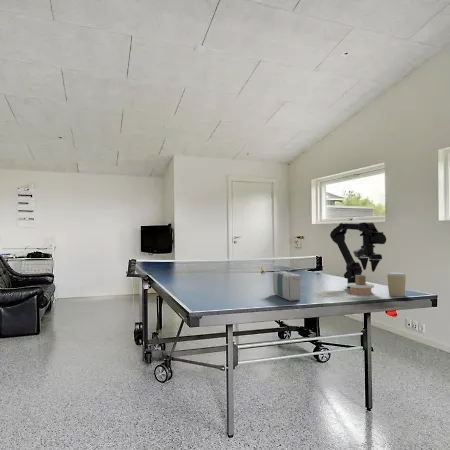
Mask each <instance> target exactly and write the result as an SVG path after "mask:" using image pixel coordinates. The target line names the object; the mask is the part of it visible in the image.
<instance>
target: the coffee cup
mask: <svg viewBox="0 0 450 450" xmlns="http://www.w3.org/2000/svg"><path fill="white" fill-rule="evenodd" d="M406 276H407V274H406V273H405V272H398V271H396V272H395V271H394V272H393V271H391V272H387V274H386V278H387V286H388V287H387V288H388V295H389V296H390V295H391V297H399V298H400V297H405V296H406V295H405V294H406V282H407V281H406V280H407V279H406V278H407V277H406Z"/></svg>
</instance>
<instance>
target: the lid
mask: <svg viewBox="0 0 450 450" xmlns="http://www.w3.org/2000/svg"><path fill="white" fill-rule="evenodd" d="M346 284H347V286H346V287H352V288H371V289H373V288H375V285H374V284H373V283H369V282H366V275H363V274H361V275H355V283H346Z"/></svg>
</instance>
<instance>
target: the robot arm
mask: <svg viewBox="0 0 450 450" xmlns="http://www.w3.org/2000/svg"><path fill="white" fill-rule="evenodd" d="M348 230H356V231H359V232H361V233H360V234H359V237H362V245H361V246H360V248H358V249H355V250H353V251H352V252H353V255H354V257H355V258H357V260H359V261H360V262H359V261H357V262H356V260H354V258H353V255H352V253H351V251H350V250H349V248H348V245H347V243H346V236H345V235H346V234H347V233H348ZM329 236H330V237H329V238H330V239H331V240H332V241H333V243H335V244H336V245H337V247H338V249H339V251H340V253H341V255H342V257H343V259H344V262H345V264H346V265H345V269H346V271H345V272H344V273H343V277H344V279H347V280H346V281H347V283H346V284H348V283H355V275H362V274H363V273H362V272H363V271H364V270H366V269H367V266H368V262H370V266H371V268H370V269H371V272H372V273H373V272H375V271H376V269H377V268H378V267H377V266H378V264H379V263H380V261H381V260H383V255H382V254H381V253H376V252H375V251H374V248H376V245H385V244H386V242H387V236H386V235H385V234H384V232H383V231H379V230H378V229H377V227H376V225H375V223H374V222H372V221H371V222H367V221H366V222H360V223H352V222H350V223H349V222H341V223H339V224H338V226H336V227H335V228H333V229H332V231H330V234H329ZM362 268H363V269H362ZM346 288H347V289H350V287H348V286H346Z"/></svg>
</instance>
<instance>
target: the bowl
mask: <svg viewBox="0 0 450 450" xmlns="http://www.w3.org/2000/svg"><path fill="white" fill-rule="evenodd" d="M349 293H351V294H354V295H372V288H352V287H350V288H349Z"/></svg>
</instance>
